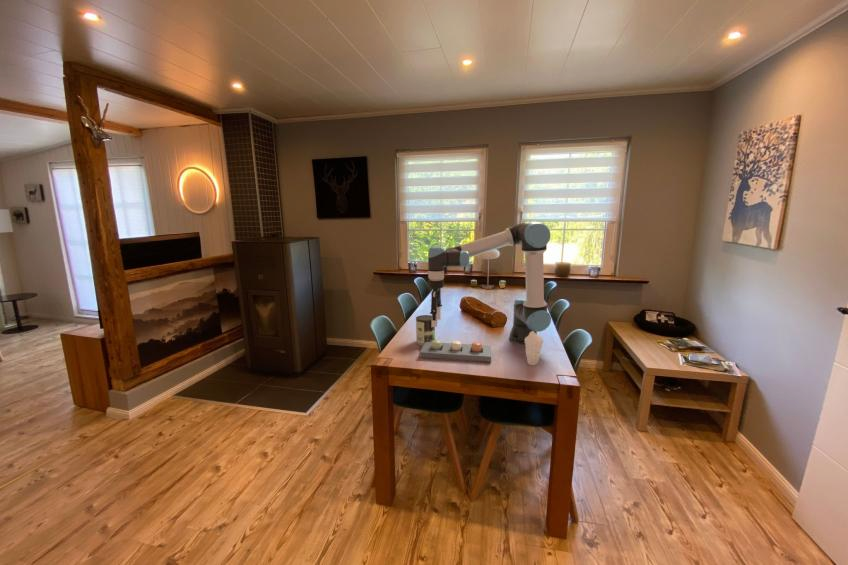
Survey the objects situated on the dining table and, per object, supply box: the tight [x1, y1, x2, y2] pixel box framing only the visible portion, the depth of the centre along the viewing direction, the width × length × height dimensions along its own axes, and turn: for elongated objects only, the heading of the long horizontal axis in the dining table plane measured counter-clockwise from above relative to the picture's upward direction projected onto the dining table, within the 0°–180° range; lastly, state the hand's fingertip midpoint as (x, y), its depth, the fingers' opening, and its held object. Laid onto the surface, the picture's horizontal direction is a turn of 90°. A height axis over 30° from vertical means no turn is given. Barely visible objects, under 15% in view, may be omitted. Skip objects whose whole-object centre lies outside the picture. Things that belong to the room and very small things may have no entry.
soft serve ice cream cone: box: [524, 331, 544, 366], centre depth 159 cm, size 8×8×16 cm
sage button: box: [431, 339, 442, 350], centre depth 173 cm, size 5×5×4 cm
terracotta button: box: [471, 341, 483, 353], centre depth 169 cm, size 5×5×4 cm
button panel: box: [419, 342, 492, 363], centre depth 171 cm, size 34×14×3 cm, turn 80°
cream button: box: [450, 340, 462, 351], centre depth 171 cm, size 5×5×4 cm
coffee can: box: [415, 314, 436, 346], centre depth 187 cm, size 10×10×14 cm
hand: (436, 322), depth 170 cm, fingers open, 11 cm apart
